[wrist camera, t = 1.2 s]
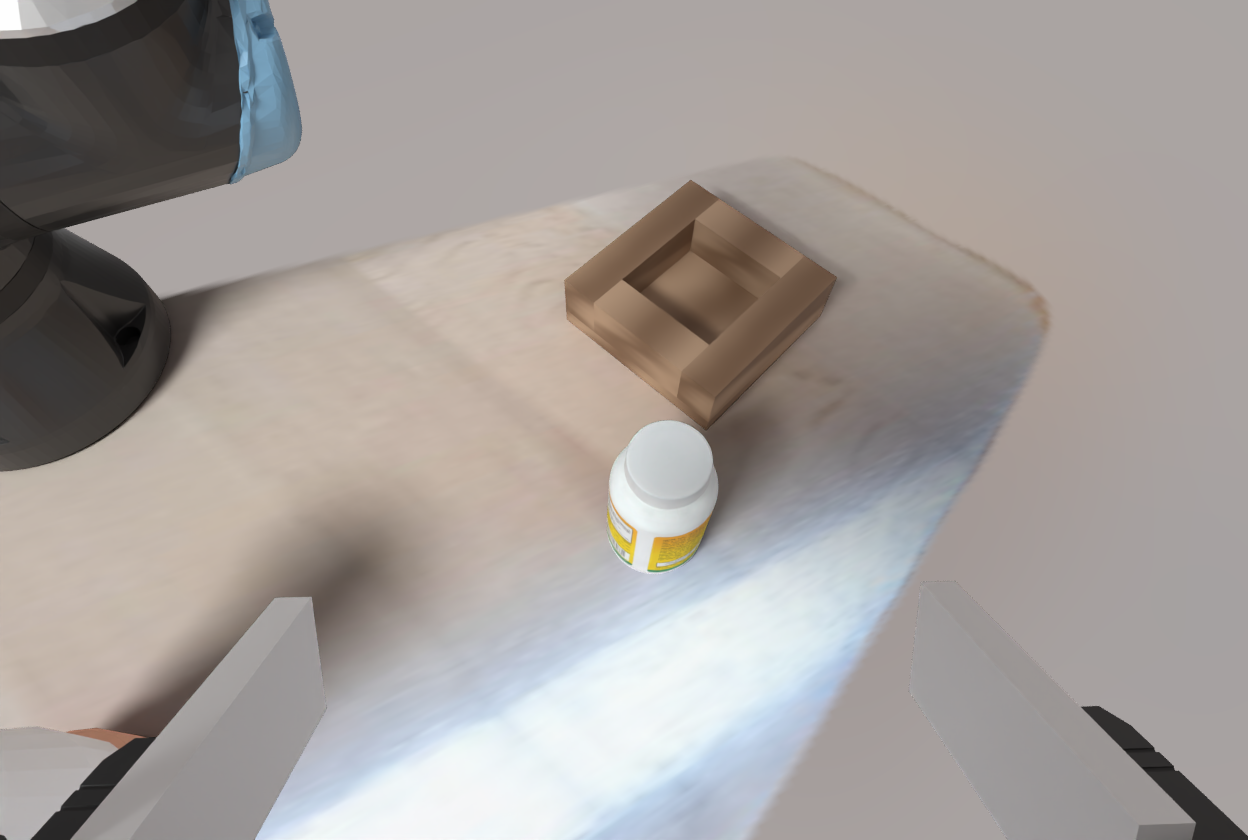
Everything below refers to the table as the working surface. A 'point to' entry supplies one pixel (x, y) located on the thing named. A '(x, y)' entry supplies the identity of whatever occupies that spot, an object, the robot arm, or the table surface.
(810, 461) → the table surface
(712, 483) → the supplement bottle
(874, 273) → the table surface
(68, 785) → the pepper shaker
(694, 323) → the socket block
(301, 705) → the robot arm
